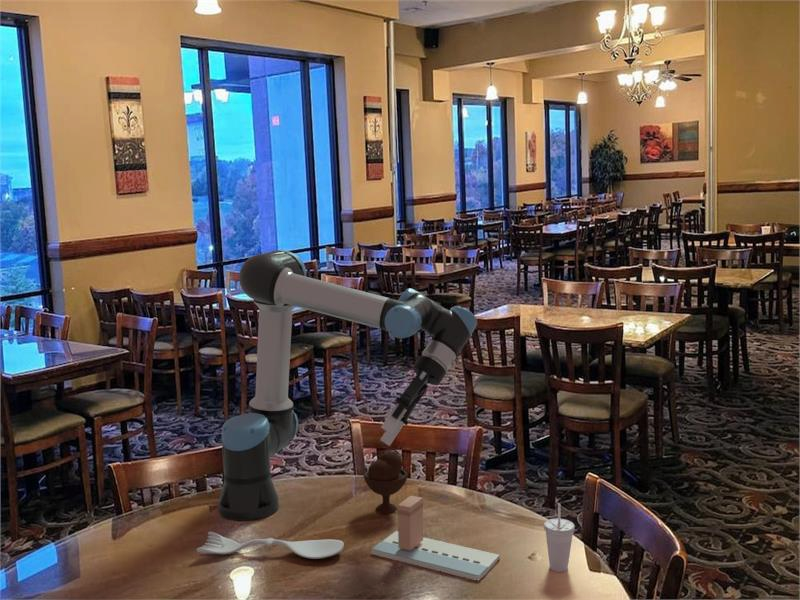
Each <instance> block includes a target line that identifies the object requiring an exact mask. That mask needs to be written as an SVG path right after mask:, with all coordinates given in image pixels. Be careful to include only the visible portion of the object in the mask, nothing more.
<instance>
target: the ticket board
mask: <svg viewBox="0 0 800 600" xmlns="http://www.w3.org/2000/svg"><path fill="white" fill-rule="evenodd" d="M371 555H374V556H377V557H382V558H385V559H389V560H394V561H397V560H398V561H399V562H402V563H405V562H406V564H410V565H414V566H417V565H418V567H421V568H425V569H430V570H433V571H438V572H440V571H441V573H444V574H445V573H446V574H449V575H453V576H457V577H462V578H464V577H465V578H464V579H469V580H472V581H476V580H477V582H480V581H481V580H482V579H483V578H484V577H485V576H486V574H487V573H488V572H489V571H490V570H491V569H492V568H493V567H494V566H495V565H496V564H497V563H496V562H497V561H498V560H499V561H500V559H501V558H500V557H501V555H500V554H496V553H494V552H488V551H485V550H480V549H475V548H472V547H467V546H463V545H460V544H454V543H450V542H446V541H441V540H437V539H432V538H429V537H424V536H423V541H422V542H420V543H419V544H418V545H417V546H416V547H414V548H413V549H412V550H411V551H409V550H405V549H401V548H398V530H395V531H394V532H393V533H391V534H390V535H389V536H387V537H386V538H385V539H384V540H381V541H380V542H378V543H376V545H375V546H373V547H372V548H371ZM398 561H397V562H398ZM499 561H498V562H499ZM495 563H496V564H495ZM481 578H482V579H481ZM480 579H481V580H480ZM479 580H480V581H479Z"/></svg>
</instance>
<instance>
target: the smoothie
mask: <svg viewBox="0 0 800 600" xmlns="http://www.w3.org/2000/svg"><path fill="white" fill-rule="evenodd" d="M561 506H562V505H561V503H557V518H551V519H547V520H546V521H544V524H543V529H544V531H545V538H546V545H547V546H546V547H547V553H548V562H549V563H548V564H549V569H550V570H552V571H554V572H557V573H562V572H566V571H567V570H568V568H569V563H570V562H569V561H570V555H571V547H572V543H573V542H572V540H573V533H575V531H576V529H575V526H576V525H575V524H574V523H573V522H572V521H571V520H568V519H564V518H561V515H562V513H561V510H562V509H561V508H562V507H561Z"/></svg>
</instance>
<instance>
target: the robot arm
mask: <svg viewBox="0 0 800 600" xmlns="http://www.w3.org/2000/svg"><path fill="white" fill-rule="evenodd" d="M238 281H239V282H238V283H239V286H240V288H241V290H242V291H243V292H244V294H245V295H246V296H247V297H249V298H250V299H252V300H253V303H254V304H255V305H256V306H257V307H258V330H257V331H258V333H257V349H256V350H257V351H256V353H257V354H256V355H257V356H256V372H255V373H256V376H255V377H256V378H255V396H253V398H251V400H250V401H249V403H248V404H249V405H248V406H249V407H248V412H247V413H242V414H241V413H240V414H239V415H234V416H233V417H230V418H228V419H227V420H226V421H225V422H224V423H223V425H222V429H221V437H220V438H221V440H220V441H221V445H222V448H221V449H222V461H223V462H222V464H223V465H222V466H223V485H222V489H221V490H220V491H221V492H220V495H219V499H218V502H217V508H218V509H217V510H218V514H219V515H220V516H221V517H223V518H225V519H227V520H233V521H252V520H258V519H262V518H265V517H268V516H270V515H273V514H274V513H275V512H277V510H279V507H280V504H279V500H280V499H279V495H278V492H277V491H276V488H275V485H274V482H273V480H272V475H271V471H272V470H271V457H273V456H274V455H276V454H277V453H279V452H280V451H281V450H283V449H284V448H287V446H288V445H289V444H291V442H292V441H293V440H294V438H295V437H296V435H297V433H298V429H299V419H298V415H297V414H296V413H295V411H294V402H293V401H292V400H291V399H290V398H289V384H290V383H289V382H290V380H289V379H290V363H291V361H290V360H291V346H292V345H291V342H292V340H291V339H292V325H293V323H292V321H293V311H294V309H295V308H301V309H304V310H307V311H312V312H315V313H318V314H323V315H327V316H330V317H335V318H339V319H342V320H346V321H350V322H354V323H357V324H361V325H365V326H368V327H371V328H377V329H380V330H384V331H385V332H388V334H389V335H390V336H392V337H394V338H396V339H405V338H406V339H407V338H409V337H412V336H413V335H416V334H417V333H418V332H419V331H420V330H422V331H424V332H425V333H426V334H428V335H430V336H432V338H431V339H430V340H429V342H428V344H426V347H425V348H424V349H423V351H422V353H421V356H419V357H418V359H417V360H416V361H415V363H414V364H413V367H412V370H413V372H414V374H415V377H413V378H412V379H411V382H410V383H409V384H408V386H407V387H406V389H405V390H404V391H403V392H402V393H401V395H400V396H397V397H396V398H395V400H394V401H395V402H396V404H395V406H394V407H393V409H392V410H391V412H390V413H389V415H388V416H387V417H386V419H385V420H384V421H383V424H382V425H381V426H380V428H381V429H382V430H384V433H383V435H381V438H380V439H379V440H380V441H381V442H382V443H384V444H385V445H387V446H389V447H390V446H391V444H392V443H393V442H394V440H395V439H396V438H397V435H398V434H399V432H400V431H401V429H402V428H403V426H408V424H409V421H408V419H410V416H411V414H412V413H413V412H414V410H415V408H416V406H417V405H418V403H419V402H420V401H421V400H422V397H423V396H424V395H425V394H426V392H427V391H428V388H429V385H428V384H430V385H432V386H438V385H440V384H441V382H442V380H443V379H444V378H445V376H446V373H447V372H448V371H449V369H450V368H451V366H452V365H456V363H457V362H456V359H457V357H458V356H459V355H460V353H461V351H462V350H463V348H464V347H465V346H466V344H467V343H468V341H469V340H470V338H471V336H472V334H473V333H474V331H475V329H476V327H477V326H478V319H477V318H476V315H475V314H473V312H471V311H470V310H469V309H467V308H465V307H462V306H461V305H455V306H453V307H452V308H451V309H448V308H445V307H444V306H442V305H441V304H439V303H437V302H435V301H434V300H433V299H430V298H429V297H427V296H426V295H424V294H423V293H422V292H419V291H417V290H416V289H414V288H410V287H409V288H406V289H405V290H404V291H403V292H402V294H401V295H400V297H399V299H398V300H397V299H394V298H390V297H386V296H382V295H378V294H375V293H371V292H366V291H365V290H364V291H363V290H359V289H355V288H353V287H349V286H348V287H347V286H344V285H340V284H336V283H333V282H328V281H323V280H321V279H317V278H313V277H309V276H307V269H306V266H305V264H304V261H303V259H301V258H300V257H299V256H298V255H297V254H295V253H294V252H291V251H289V250H273V251H269V252H268V251H267V252H264V253H259V254H255V255H252V256H251V257H249V258H248V259H247V260H245V261H244V263H243V264H242V265H241V268H240V270H239V273H238Z"/></svg>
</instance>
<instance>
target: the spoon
mask: <svg viewBox="0 0 800 600" xmlns="http://www.w3.org/2000/svg"><path fill="white" fill-rule="evenodd" d="M205 540H206V541H207V542H204V545H202V546H200V547H197V548H196V551H197V553H202V554H214V555H215V554H216V555H230V554H234V553H236V552H239V551H241V550H242V549H243V550H244V549H246V548H248V547H250V546H254V545H265V546H267V547H269V546H273V545H279V546H282V547H285V548H286V549H288V550H289V551H291V552H293V553H294V554H296V555H298V556H299V557H303V558H306V559H310V560H311V559H313V560H314V559H315V560H317V559H318V560H320V559H325V558H329V557H332V556H336V555H338V554H339V553H341V552H342V551H343V549H344V546H345V543H344V541H342V540H340V539H331V538H330V539H328V538H327V539H326V538H325V539H310V540H299V541H298V540H297V541H288V540H282V539H274V538H273V537H268V538H255V539H252V540H250V539H249V540H248V541H245V542H242V543H239V542H237V541H235V540H233V539H231V538H228V537H224V536H223V535H221V534H218V533H216V532H214V531H208V532H207V539H205Z"/></svg>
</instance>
